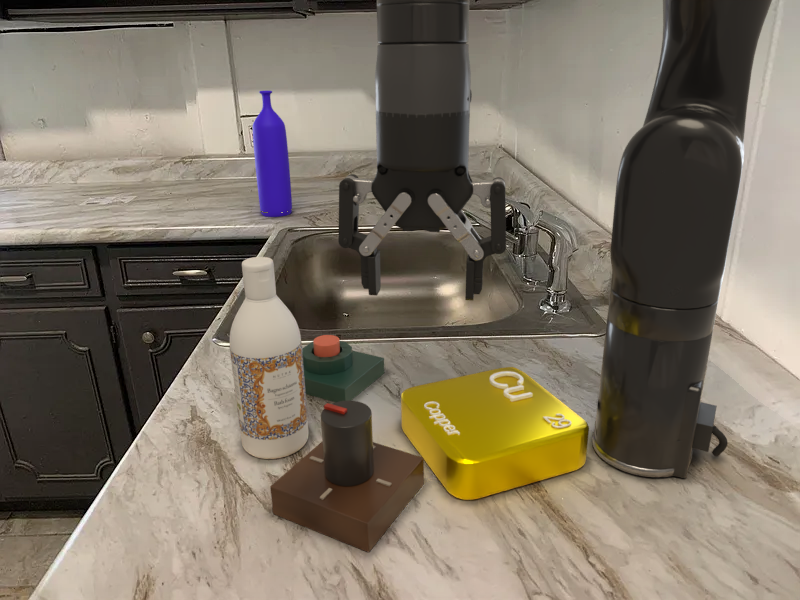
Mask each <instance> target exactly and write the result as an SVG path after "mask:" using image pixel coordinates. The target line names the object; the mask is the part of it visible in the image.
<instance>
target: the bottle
mask: <svg viewBox="0 0 800 600" xmlns="http://www.w3.org/2000/svg"><path fill="white" fill-rule="evenodd" d="M258 93H259V94H260V96H261V100H262V108H261V110H260V112H259V114H258V115H257V116H256V117H255V119H254V121H253V123H252V143H253V155H254V166H255V176H256V185H257V195H258V204H259V210H260V213H261V215H262V216H263V217H267V218H278V217H286V216H289V215H291V214H292V212H293V201H292V199H293V198H292V184H291V183H292V182H291V169H290V159H289V147H288V139H287V130H286V125H285V122H284V120H283V119H282V118H281V116H280V115H279V114H277V112H276V111H275V110H274V109H273V107H272V100H271V94H273V90H259V91H258ZM291 209H292V210H291ZM261 211H263V212H268V213H263V212H261ZM287 211H288V212H287ZM281 212H283V213H281Z"/></svg>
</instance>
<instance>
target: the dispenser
mask: <svg viewBox="0 0 800 600" xmlns="http://www.w3.org/2000/svg"><path fill="white" fill-rule="evenodd" d="M339 341H340V353H339V354H338V355H335V356H332V357H319V356H315V355H314V345H313V341H311V342H310V343H308V344H307V345H305V346H304V347H302V355H303V367H304V379H305V392H306V395H308V396H312V397H315V398H318V399H322V400H324V401H329V402H332V403H336V402H340V401H354V399H355V398H356V397H357V396H359V395H360V394H361V393H363V391H365V390H366V389H367V388H369V386H371V385H372V384H374V382H376V381H377V380H378V379H379V378H380V377H382V376H383V375H384V374H385V358H384V357H382V356H378V355H373V354H369V353H365V352H361V351H356V350H353V346H352V345H350V344H349V343H348V342H347V341H343V340H339Z"/></svg>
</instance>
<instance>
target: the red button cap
mask: <svg viewBox="0 0 800 600" xmlns="http://www.w3.org/2000/svg"><path fill="white" fill-rule="evenodd" d="M340 341H341V340H340V338H339V337H338V336H337V335H333V334H323V335H318V336H316V337H315V338H313V340H312V342H313V345H314V355H315V356H319V357H332V356H335V355H338V354H339V353H340Z"/></svg>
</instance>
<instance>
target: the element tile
mask: <svg viewBox="0 0 800 600" xmlns="http://www.w3.org/2000/svg"><path fill="white" fill-rule="evenodd" d="M400 407H401V409H400V412H401V413H400V414H401V418H400V419H401V429H402V432H403V433H404V435H405V436H406V437H407V438H408V440H409V442H410V443H411V444H412V445H413V447H414V448H415V450H416V451H417V452H418V453H419V456H420V457H423V458H424V462H425V463H426V465H427V466H428V467H429V468H430V470H431V471H432V472H433V474H434V475H435V476H436V477H437V479H438V480H439V482H440V484H441V485H442V486H443V487H444V489H445V490H446V492H447V493H449V494H450V495H451V496H452V497H454V498H457V499H460V500H464V501H465V500H466V501H469V500H470V501H472V500H473V501H474V500H478V499H483V498H486V497H489V496H493V495H495V494H499V493H503V492H505V491H509V490H513V489H516V488H520V487H524V486H526V485H529V484H534V483H536V482H540V481H543V480H547V479H550V478H555V477H557V476H561V475H564V474H568V473H571V472H575V471H577V470H579V469H581V468H582V467H583V466H584V465H585V464H586V460H587V454H588V453H587V452H588V444H589V443H588V442H589V434H590V426H589V424H588V422H587V421H586V420H585V419H584V418H583V417H582V416H580V415H579V414H577V412H575V411H574V410H572V409H571V408H570V407H569V406H567V405H566V404H565V403H564V402H562V401H561V400H560V399H559V398H557V397H556V396H555V395H554V394H552V392H550V391H549V390H547V389H546V388H545V387H544V386H542V385H541V384H540V383H539V382H537V381H536V380H534V379H533V378H532V377H531V376H529V375H528V374H527V373H526V372H524V371H522V370H521V369H519V368H517V367H514V366H506V367H498V368H494V369H489V370H485V371H480V372H475V373H470V374H465V375H461V376H456V377H452V378H447V379H442V380H437V381H433V382H429V383H424V384H419V385H413V386H411V387H408V388H406V389H404V390H403V391H402V393H401V394H400Z"/></svg>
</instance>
